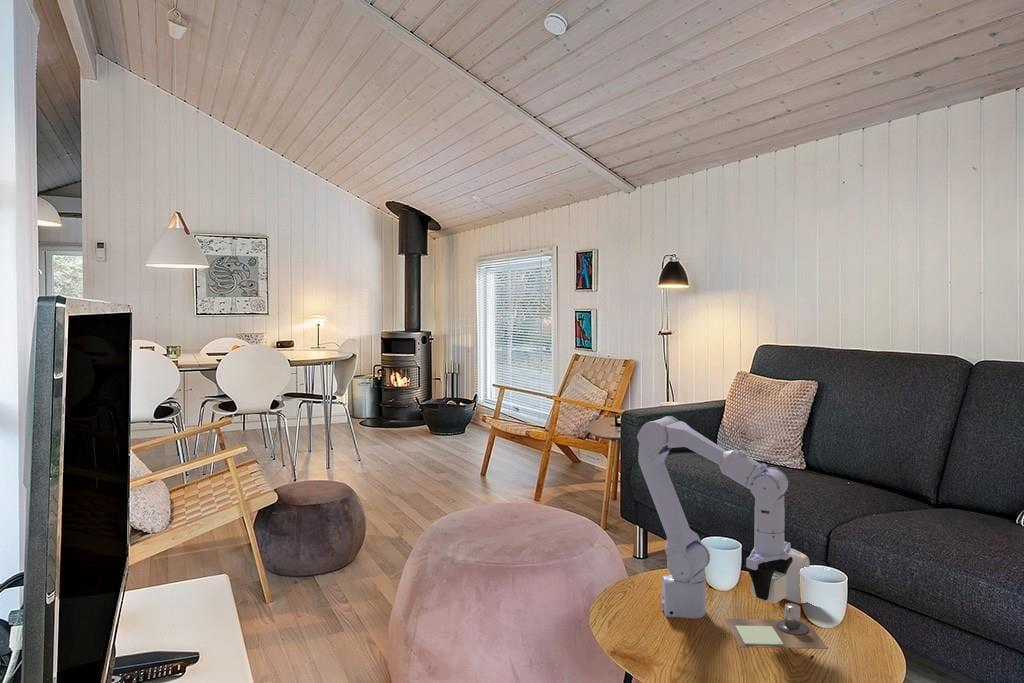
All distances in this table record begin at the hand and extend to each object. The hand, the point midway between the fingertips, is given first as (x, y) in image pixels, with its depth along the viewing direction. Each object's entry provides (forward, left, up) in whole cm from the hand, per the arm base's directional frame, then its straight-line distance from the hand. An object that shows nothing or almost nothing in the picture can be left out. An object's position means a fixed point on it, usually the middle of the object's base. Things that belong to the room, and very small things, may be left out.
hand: (768, 594), depth 138 cm
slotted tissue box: (0, 0, 0) cm, 0 cm away
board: (+1, 0, -9) cm, 9 cm away
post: (+6, +3, -8) cm, 10 cm away
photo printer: (+10, +19, -10) cm, 23 cm away
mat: (-2, -1, -8) cm, 9 cm away
